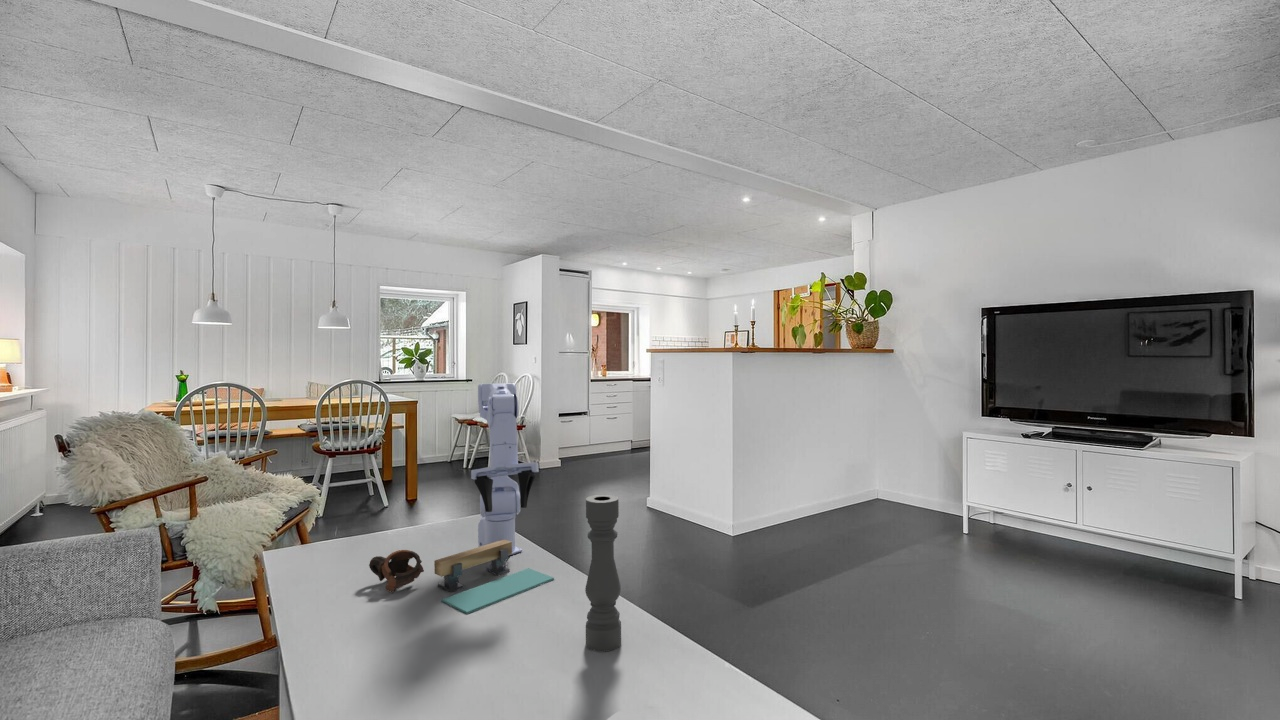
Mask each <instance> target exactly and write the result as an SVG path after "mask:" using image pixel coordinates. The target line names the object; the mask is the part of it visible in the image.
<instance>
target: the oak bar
mask: <svg viewBox="0 0 1280 720" xmlns="http://www.w3.org/2000/svg"><path fill="white" fill-rule="evenodd" d="M505 548H508V555H509V556H511V555H510V554H512V542H511V541H508V540H505V539H504V540H501V541H498V542H494V543H491V544H488V545H484V546H481V547H475V548H471V549H468V550H465V551H462V552H458V553H455V554H451V555H448V556H445V557H442V558H438V559H434V574H435V575H436V576H439V577H441V578H442V577H443V578H444V576H446V575H449V574H452V565H454V564H457V563H462V571H464V570H467V569H470V568H473V567H475V566H478V565H483V564H486V563H487V562H491V560H494V559H497V558H499V550H502V549H505ZM512 555H513V554H512Z"/></svg>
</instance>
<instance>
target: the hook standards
mask: <svg viewBox="0 0 1280 720" xmlns="http://www.w3.org/2000/svg"><path fill="white" fill-rule="evenodd" d="M507 560H509V556H508V548H505V549H502V550H499V558H497V559H494V560H491V561H490V562H491V565H489V566H486V567H485V571H487V572H489V573H491V574H494V575H497V576H502V575H504V574H507V573H509V572H510V568H508V567H506V566H505V565H504V564H505V561H507ZM460 576H463V570H462V563H457V564H454V565H452V574H449V575H446V576H443V581H442V582H439V583H438V587H439V588H441V589H443V590H444V591H448V592H449V593H454V592H457V591H459V590H462V589H464V588H465V587H464V584H461V583H460V582H459V581H458V578H459V577H460Z"/></svg>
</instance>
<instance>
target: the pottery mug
mask: <svg viewBox="0 0 1280 720" xmlns="http://www.w3.org/2000/svg"><path fill="white" fill-rule="evenodd" d="M412 559H415V561H416V564H415V565H414V566H412V565H410V564H409V562H410V560H412ZM422 562H423V560H422V559H420V555H419V554H418V553H417V552H415V551H413V550H410V549H409V550H408V549H401V550H399V549H397V550H396V551H393V552H391V553H390V554H388V555H387V556H386V557H384V556H382V555H381V556H378V555H376V556H374V557H372V558H371V559H370V561H369V564H368V566H369V569H370V571H371V572H372V573H373V574H374V575H376V576H377V578H378V580H379V581H380V582H382V581H383V580H384V579H386V580H387V582H386V586H385V590H386V591H387V592H390V593H393V592H394V591H395V590H396V589H399V588H402V587H404V586H406V585H409V584H411V583H412V582H414V581H415V579H418V578H419V576H420V575H421V573H424V572H425V569H424V567H423V565H422V564H421V563H422Z"/></svg>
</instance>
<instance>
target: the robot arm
mask: <svg viewBox="0 0 1280 720" xmlns="http://www.w3.org/2000/svg"><path fill="white" fill-rule="evenodd" d="M477 402H478V404H477V405H478V413H479V416H480V418H483V419H485V421H486V422H487V426H488V430H489V461H490V463H489V465H490V466H487V467H482V468H476V469H472V470H470V471H471V472H470V476H471V477H470V478H471V480H473V481H474V484H475V486H476V487H477V489H478V491H479V493H480V494H479V511H480V512H479V513H480V514H479V515H480V516H481V518H480V519H479V522H478V526H477V532H478V533H477V534H478V535H477V541H478V542H477V545H478V547H481V546H484V545H488V544H491V543H494V542H498V541H501V540H504V539H505V540H508V541H511V542H512V554H510V555H508V557H509V556H511V555H514V554H517V553H520V552H523V548H520V547H517V546H516V515H519V514H520V513H521V509H526V508H528V507H527V506H528V500H529V496H530V493H531V492H530V491H531V489H532V486H533V484H534V482H535V478H536V475H535V473H539V471H540V470H539V462H535V461H534V462H524V463H523V462H521V463H519V454H518V453H519V452H518V451H519V450H518V430H517V429H518V427H517V426H518V425H517V419H518V415H519V399H518V395H517V385H516V384H515V383H514V382H511V383H510V382H509V383H508V382H505V383H504V382H503V383H501V382H500V383H495V382H494V383H482V382H479V384H478V386H477ZM512 475H517V477H518V478H517V479H518V482H517V481H515V480H514V479H512V478H511V477H509V476H512ZM518 483H519V484H518ZM478 547H477V548H478Z"/></svg>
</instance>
